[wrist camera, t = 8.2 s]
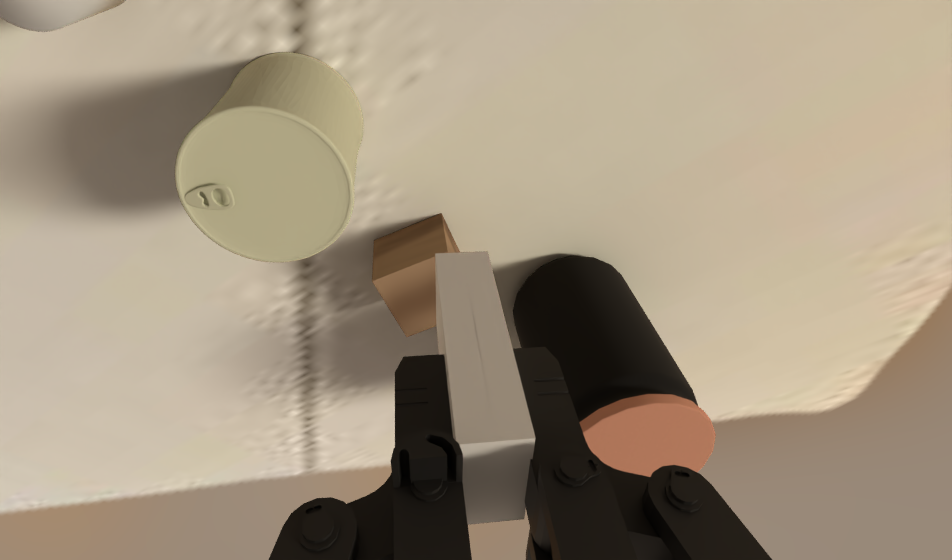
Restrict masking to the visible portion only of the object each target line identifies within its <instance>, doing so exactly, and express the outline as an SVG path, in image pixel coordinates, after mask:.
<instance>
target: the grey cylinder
mask: <svg viewBox="0 0 952 560" xmlns="http://www.w3.org/2000/svg"><path fill="white" fill-rule="evenodd" d="M124 1H125V0H0V17H1V18H2V19H4V20H6V21H7V22H9V23H11V24H13V25H15V26H18V27H21V28H23V29H27V30H31V31H38V32H47V31H54V30H58V29H60V28H63V27H65V26H68V25H71V24H73V23H76V22H78V21H81V20H83V19H86V18H88V17H91V16H94V15H96V14H99V13H101V12H104V11H106V10H109V9H111V8H114V7H116V6H119V5H120V4H122V3H123V2H124Z"/></svg>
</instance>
